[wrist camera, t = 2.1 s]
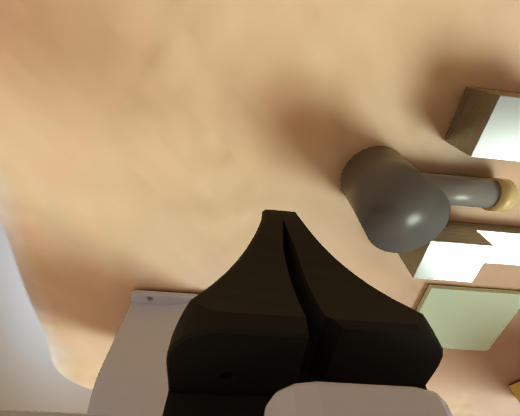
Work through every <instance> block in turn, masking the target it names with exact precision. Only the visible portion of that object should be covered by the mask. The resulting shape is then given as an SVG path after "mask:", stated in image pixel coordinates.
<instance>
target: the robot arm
mask: <svg viewBox="0 0 520 416" xmlns="http://www.w3.org/2000/svg"><path fill="white" fill-rule="evenodd" d="M149 296H150V297H149ZM130 299H131V304H130V306H129V309H128V311H127V313H126V315H125V317H124V319H123V322H122V324H121V326H120V328H119V330H118V332H117V334H116V337H115V339H114V341H113V343H112V345H111V347H110V350H109V352H108V354H107V356H106V358H105V360H104V363H103V365H102V367H101V369H100V372H99V374H98V376H97V379H96V382H95V385H94V388H93V392H92V395H91V399H90V403H89V408H88V413H87V414H81V413H60V412H38V411H17V410H0V416H452V414H451V412H450V410H449V408H448V406H447V404H446V402H445V401H444V400H443V399H442V398H441V397H440V396H439V395H438V394H437V393H435V392H433V391H429V390H427V388H426V386H425V385H426V384H427V382H428V381H429V379H430V378H431V376H432V375H433V373H434V372H435V370H436V369H437V367H438V366H439V363H440V361H441V359H442V357H443V348H442V346H441V344H440V342H439V340H438V338H437V337H436V335H435V333H434V331H433V329H432V328H431V326H430V324H429V323H428V321H427V320H426V318H425V317H424V315H423V314H422V313H420V312H418V311H416V310H414V309H412V308H410V307H408V306H406V305H404V304H402V303H400V302H398V301H396V300H394V299H392V298H390V297H388V296H387V295H385V294H383V293H382V292H380V291H378V290H377V289H375V288H373V287H372V286H370V285H369V284H367V283H366V282H364V281H363V280H362V279H360V278H359V277H357V276H356V275H355V274H353V273H352V272H351V271H349V270H348V269H347V268H346V267H344V266H343V265H342V264H341V263H340V262H339V261H337V260H336V259H335V258H334V257H333V256H332V255H331V254H330V253H329V252H328V251H327V250H326V249H325V248H324V247H323V246H322V245H321V244H320V243H319V242H318V241H317V239H316V238H315V237H314V236H313V235H312V233H311V232H310V231H309V230H308V228H307V227H306V226H305V225H304V223H303V222H302V221H301V219H300V218H299V217H298V215H297V214H296V213H295V212H289V211H277V210H264V211H263V212H262V220H261V223H260V225H259V227H258V230H257V232H256V234H255V236H254V237H253V239H252V241H251V242H250V244H249V246H248V247H247V249H246V250H245V251H244V253H243V254H242V255H241V257H240V258H239V259H238V260H237V262H236V263H235V264H234V265H233V266H232V267H231V268H230V269H229V270H228V271H227V272H226V273H225V274H224V275H223V276H222V277H221V278H219V279H218V280H217V281H216V282H215V283H214V284H212V285H211V286H210V287H209V288H207V289H206V290H204V291H203V292H201V293H200V294H189V293H174V292H160V291H145V290H134V291H133V292H132V293H131V295H130Z"/></svg>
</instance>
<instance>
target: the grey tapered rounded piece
mask: <svg viewBox="0 0 520 416" xmlns="http://www.w3.org/2000/svg"><path fill="white" fill-rule="evenodd" d="M341 185H342V189H343V191H344V193H345V195H346V197H347V199H348V201H349V203H350V205H351V206H352V208H353V210H354V212H355V214H356V216H357V218H358V220H359V222H360V223H361V225H362V227H363V229H364V231H365V233H366V235H367V237H368V238H369V240H370V241H371V243H372V244H373V245H375V246H376V247H377V248H379V249H381V250H384V251H387V252H393V253H402V252H409V251H412V250H416V249H418V248H421V247H423V246H425V245H426V244H428V243H430V242H431V241H432V240H434V239H435V238H436V237H437V236H438V235H439V234H440V233H441V232H442V230H443V229H444V227H445V226H446V224H447V222H448V219H449V216H450V205H458V206H469V207H480V208H483V209H484V210H487V211H499V212H504V211H507V210H509V209H510V208H511V207H512V206H513V205H514V204H515V202H516V199H517V188H516V185H515V184H514V183H513V182H512V181H511V180H508V179H499V178H489V179H488V178H477V177H467V176H456V175H446V174H435V173H425V172H420V171H419V170H418V169H416V168H415V167H414V166H413V165H412V164H411V163H410V162H408V161H407V160H406V159H405V158H404V157H403V156H402V155H400V154H399V153H398V152H397V151H395V150H394V149H391V148H388V147H384V146H376V147H370V148H367V149H365V150H362V151H361V152H359V153H357V154H356V155H355V156H353V157H352V158H351V159H350V160H349V162H348V163H347V164H346V166H345V168H344V170H343V173H342V177H341Z"/></svg>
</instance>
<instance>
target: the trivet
mask: <svg viewBox="0 0 520 416" xmlns="http://www.w3.org/2000/svg"><path fill="white" fill-rule="evenodd" d="M519 309H520V291H512V290H498V289H485V288H471V287H457V286H444V285H430V284H429V286H428V288H427V290H426V292H425V294H424V295H423V297H422V299H421V301H420V303H419V305H418V307H417V309H416V311H418V312H420V313H422V314H423V315H424V317H425V318H426V320H427V321H428V323H429V324H430V326H431V328H432V329H433V331H434V333H435V335H436V337H437V338H438V340H439V342H440V344H441V346H442V348H446V349H463V350H479V351H488V350H489V348H490V347H491V346H492V344H493V343H494V342H495V340H496V339H497V338H498V337H499V335H500V334H501V333H502V331H503V330H504V329H505V327H506V326H507V325H508V323H509V322H510V321H511V320H512V318H513V317H514V316H515V314H516V313H517V312H518V310H519Z"/></svg>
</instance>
